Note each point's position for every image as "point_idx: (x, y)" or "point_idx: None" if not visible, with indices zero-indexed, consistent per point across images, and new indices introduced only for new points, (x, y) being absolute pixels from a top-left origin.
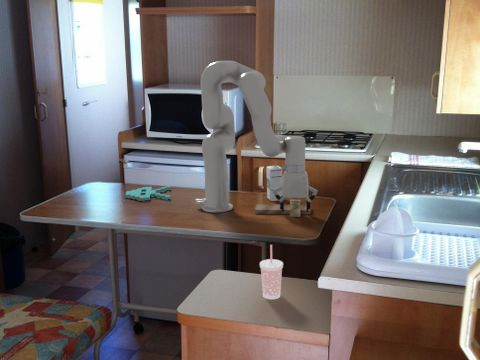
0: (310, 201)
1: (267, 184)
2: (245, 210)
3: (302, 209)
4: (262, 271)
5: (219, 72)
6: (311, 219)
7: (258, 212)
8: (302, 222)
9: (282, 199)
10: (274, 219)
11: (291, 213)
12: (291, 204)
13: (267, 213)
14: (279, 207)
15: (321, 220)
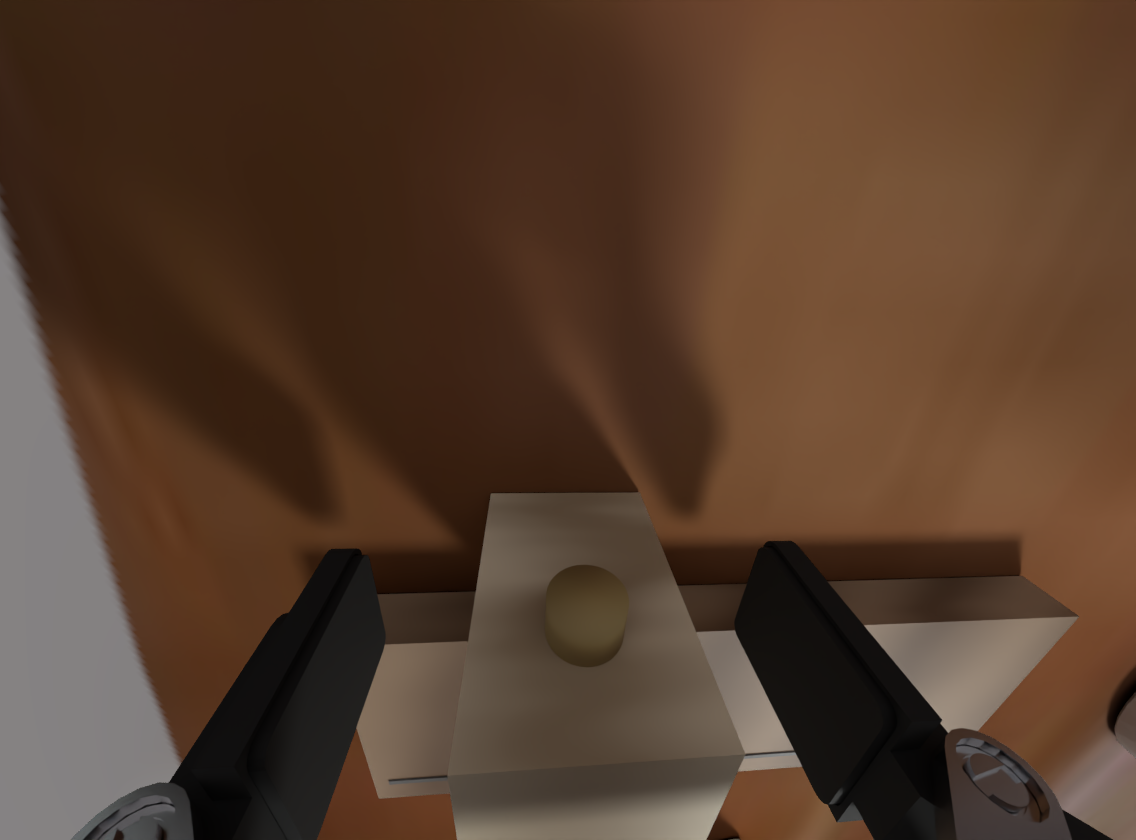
0: (110, 819)
1: None
2: (1050, 654)
3: (457, 666)
4: None
5: None
6: (287, 364)
7: (1000, 588)
8: (435, 160)
9: (990, 823)
10: (894, 359)
11: (628, 523)
12: (677, 675)
13: (891, 581)
14: (751, 703)
15: (69, 303)
